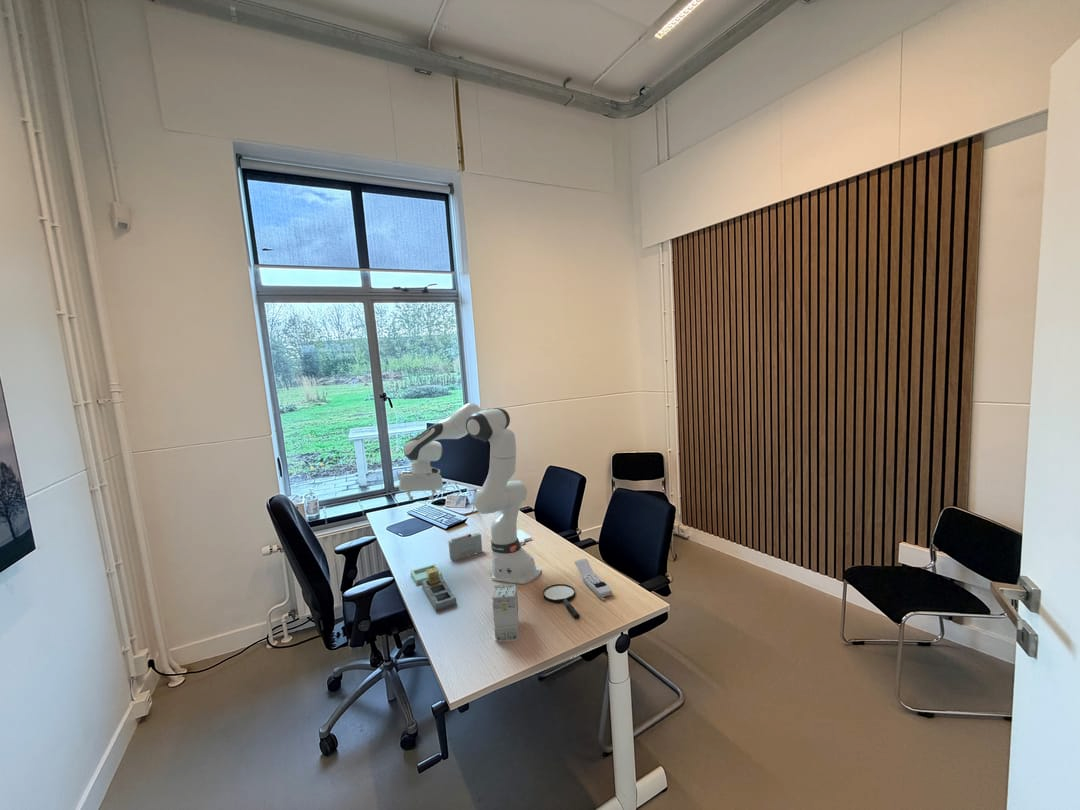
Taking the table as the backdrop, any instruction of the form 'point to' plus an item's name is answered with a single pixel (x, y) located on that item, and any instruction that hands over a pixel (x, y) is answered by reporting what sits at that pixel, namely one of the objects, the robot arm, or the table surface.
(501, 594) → the circuit breaker
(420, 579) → the parts tray
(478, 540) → the cassette player
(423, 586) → the socket block
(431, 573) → the brass plug
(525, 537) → the mounting plate
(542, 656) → the table surface
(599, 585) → the mobile phone
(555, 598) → the magnifying glass
